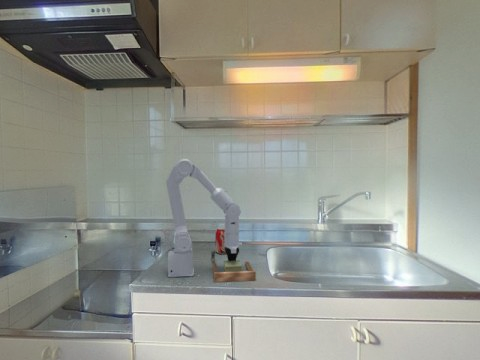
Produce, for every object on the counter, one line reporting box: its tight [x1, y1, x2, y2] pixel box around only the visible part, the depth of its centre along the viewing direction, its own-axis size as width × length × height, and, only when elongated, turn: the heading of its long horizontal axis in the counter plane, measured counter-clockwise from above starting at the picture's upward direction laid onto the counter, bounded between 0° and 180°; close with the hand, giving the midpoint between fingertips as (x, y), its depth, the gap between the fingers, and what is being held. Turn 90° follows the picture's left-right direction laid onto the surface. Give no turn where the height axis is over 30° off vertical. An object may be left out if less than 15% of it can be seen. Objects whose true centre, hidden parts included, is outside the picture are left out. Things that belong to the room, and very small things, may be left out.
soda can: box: [214, 226, 227, 255], centre depth 149 cm, size 7×7×12 cm
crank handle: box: [210, 250, 216, 264], centre depth 137 cm, size 8×1×3 cm, turn 7°
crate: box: [223, 259, 243, 272], centre depth 120 cm, size 6×7×4 cm
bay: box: [212, 261, 257, 283], centre depth 121 cm, size 15×18×3 cm
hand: (231, 266), depth 125 cm, fingers closed
